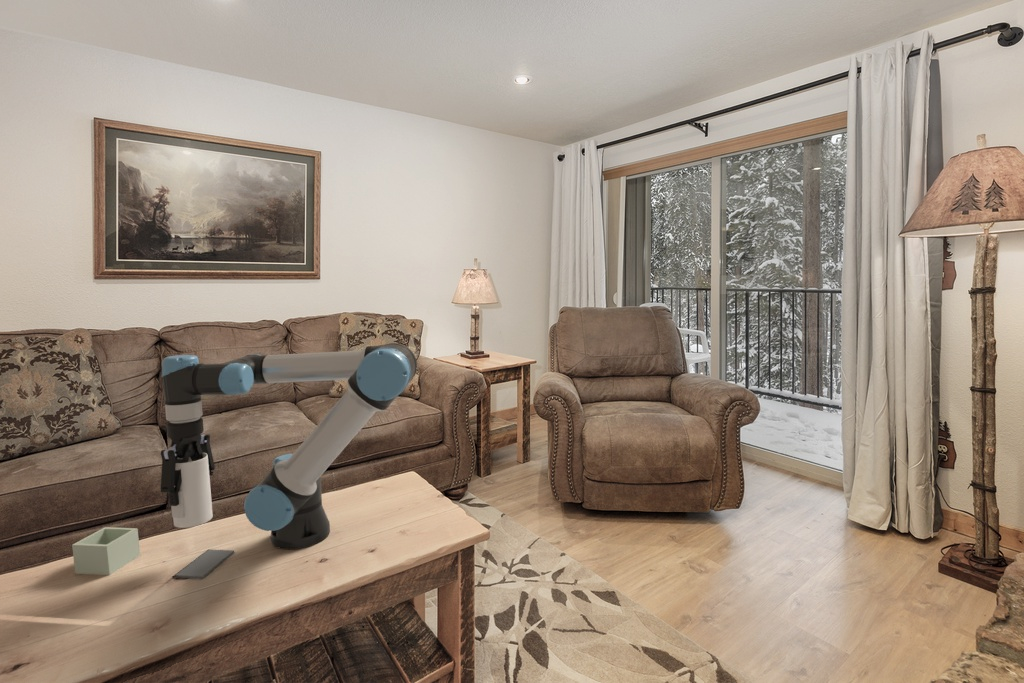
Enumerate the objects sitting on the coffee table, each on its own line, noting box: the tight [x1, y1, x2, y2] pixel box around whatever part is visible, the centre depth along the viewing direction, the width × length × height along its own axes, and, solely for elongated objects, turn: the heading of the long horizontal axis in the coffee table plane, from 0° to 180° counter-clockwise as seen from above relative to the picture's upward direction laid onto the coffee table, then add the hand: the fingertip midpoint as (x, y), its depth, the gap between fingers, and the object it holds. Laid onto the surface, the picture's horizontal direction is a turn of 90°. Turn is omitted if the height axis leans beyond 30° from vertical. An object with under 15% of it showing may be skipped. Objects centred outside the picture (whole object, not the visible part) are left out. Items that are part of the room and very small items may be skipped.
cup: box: [172, 453, 214, 529], centre depth 127 cm, size 8×8×16 cm
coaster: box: [171, 548, 235, 580], centre depth 129 cm, size 12×12×1 cm
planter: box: [71, 526, 141, 576], centre depth 128 cm, size 9×9×8 cm
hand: (191, 508), depth 128 cm, fingers closed on cup, 8 cm apart
